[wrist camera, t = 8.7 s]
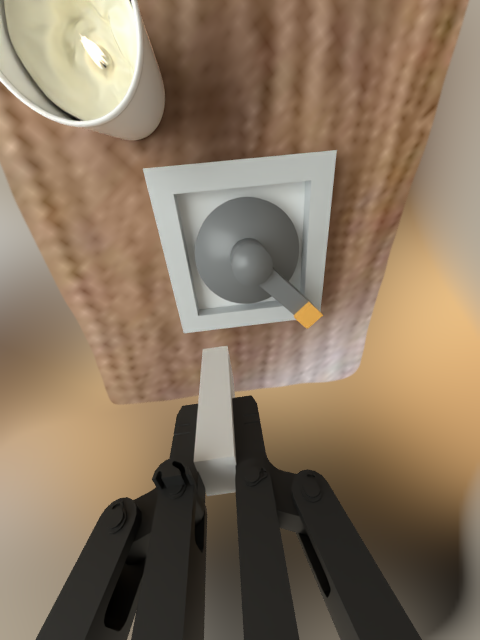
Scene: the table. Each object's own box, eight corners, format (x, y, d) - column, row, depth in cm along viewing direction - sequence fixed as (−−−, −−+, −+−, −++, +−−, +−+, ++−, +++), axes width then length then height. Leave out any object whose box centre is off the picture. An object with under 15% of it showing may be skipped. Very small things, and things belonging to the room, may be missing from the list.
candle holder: (191, 117, 25) (175, 71, 15) (118, 167, 27) (57, 157, 16) (128, -14, 20) (39, -217, 10) (44, 57, 22) (-108, -57, 12)
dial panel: (152, 170, 27) (142, 168, 23) (321, 154, 28) (337, 149, 24) (186, 319, 37) (183, 334, 34) (310, 304, 38) (320, 317, 34)
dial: (175, 258, 30) (166, 274, 25) (242, 169, 26) (250, 165, 21) (269, 330, 37) (278, 354, 32) (334, 269, 33) (357, 285, 27)
